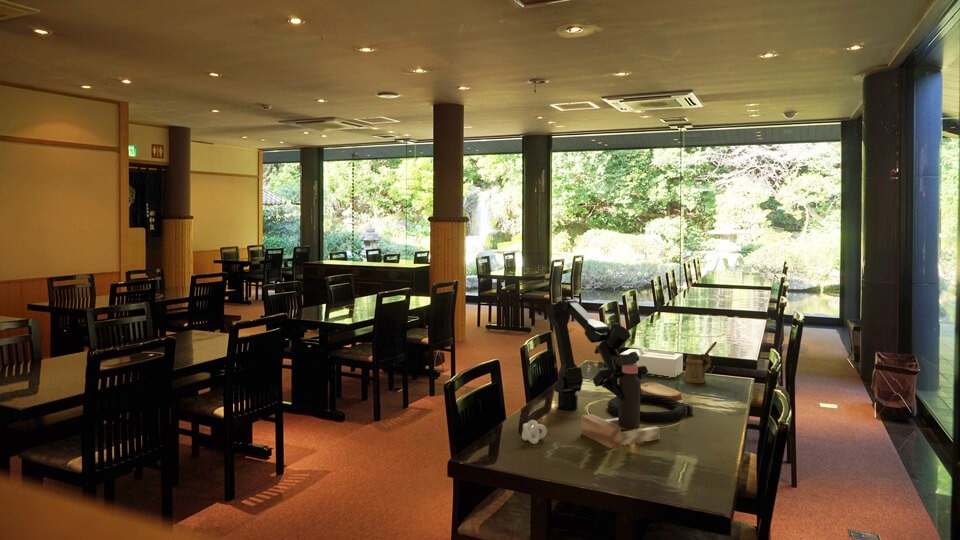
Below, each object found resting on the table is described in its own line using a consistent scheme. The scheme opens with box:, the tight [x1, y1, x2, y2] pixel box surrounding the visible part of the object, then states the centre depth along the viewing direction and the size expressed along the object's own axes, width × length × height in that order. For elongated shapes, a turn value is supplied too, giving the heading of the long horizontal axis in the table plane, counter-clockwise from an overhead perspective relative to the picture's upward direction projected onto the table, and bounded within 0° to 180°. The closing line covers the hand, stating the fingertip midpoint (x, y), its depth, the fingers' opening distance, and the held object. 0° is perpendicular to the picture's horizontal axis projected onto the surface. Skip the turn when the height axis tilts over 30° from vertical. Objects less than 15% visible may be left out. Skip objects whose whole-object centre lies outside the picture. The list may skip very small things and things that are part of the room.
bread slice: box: [641, 381, 683, 401], centre depth 253 cm, size 18×18×4 cm
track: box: [580, 413, 661, 449], centre depth 200 cm, size 20×15×6 cm
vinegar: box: [617, 364, 642, 431], centre depth 201 cm, size 7×7×20 cm
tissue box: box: [619, 347, 684, 378], centre depth 292 cm, size 14×25×11 cm, turn 59°
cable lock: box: [606, 394, 694, 423], centre depth 228 cm, size 28×4×30 cm
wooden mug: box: [682, 341, 718, 384], centre depth 272 cm, size 9×14×18 cm, turn 68°
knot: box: [521, 419, 547, 445], centre depth 196 cm, size 8×8×6 cm
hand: (632, 398), depth 200 cm, fingers closed on vinegar, 7 cm apart
